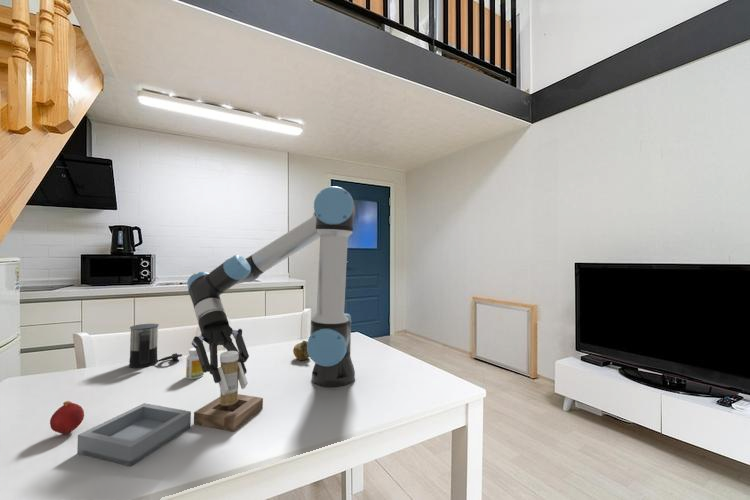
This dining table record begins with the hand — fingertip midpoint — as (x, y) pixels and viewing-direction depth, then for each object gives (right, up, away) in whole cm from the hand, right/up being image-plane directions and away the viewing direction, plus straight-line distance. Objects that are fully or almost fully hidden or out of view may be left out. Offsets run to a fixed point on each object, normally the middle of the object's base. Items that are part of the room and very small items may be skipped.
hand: (235, 389), depth 82 cm
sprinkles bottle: (-3, -5, +2) cm, 6 cm away
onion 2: (+6, -9, +49) cm, 50 cm away
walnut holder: (-3, -8, +2) cm, 9 cm away
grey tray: (-19, -8, -9) cm, 22 cm away
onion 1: (-37, -8, -7) cm, 38 cm away
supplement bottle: (-27, -8, +28) cm, 40 cm away
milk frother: (-49, -8, +41) cm, 64 cm away
